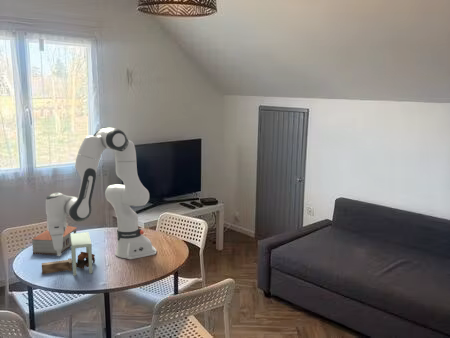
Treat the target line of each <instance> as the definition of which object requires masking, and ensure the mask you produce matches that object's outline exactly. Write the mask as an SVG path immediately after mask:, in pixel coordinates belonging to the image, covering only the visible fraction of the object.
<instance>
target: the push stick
mask: <svg viewBox="0 0 450 338" xmlns="http://www.w3.org/2000/svg"><path fill="white" fill-rule="evenodd" d="M66 270H67V271H68V272H73V263H72V257H70V258H68V259H64V260H63V259H62V260H56V261H47V262H42V263H41V274H42V275H45V274H51V273H58V272H59V271H60V272H66Z"/></svg>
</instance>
